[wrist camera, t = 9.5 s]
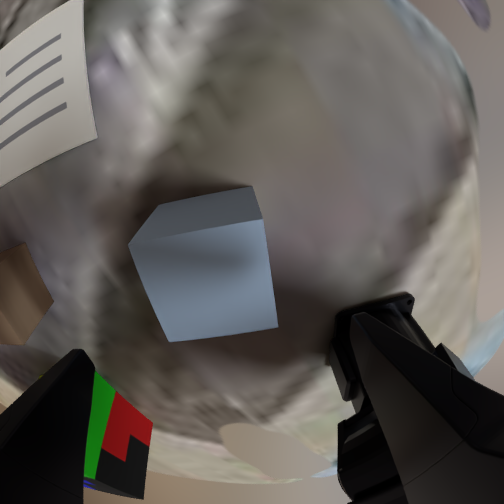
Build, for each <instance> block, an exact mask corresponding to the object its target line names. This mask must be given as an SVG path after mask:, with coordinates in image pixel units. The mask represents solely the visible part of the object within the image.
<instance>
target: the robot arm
mask: <svg viewBox="0 0 504 504" xmlns="http://www.w3.org/2000/svg"><path fill="white" fill-rule="evenodd" d="M414 301H415V299H414V297H413V296H412V295H411V294H406V295H403V296H399V297H396V298H392V299H389V300H385V301H381V302H378V303H374V304H370V305H366V306H362V307H358V308H354V309H350V310H346V311H342V312H339V313H338V314H337V315H336V317H335V331H334V338H332V340H331V342H330V358H329V362H330V365H331V367H332V370H333V373H334V376H335V379H336V381H337V384H338V387H339V390H340V393H341V396H342V399H343V400H344V401H346V402H347V401H350V400H351V401H352V404H353V407H354V409H355V412H356V414H354V415H353V416H351V417H350V418H348V419H347V420H343V421H341V422H340V423H338V464H337V473H338V480H339V483H340V485H341V487H342V489H343V490H344V492H345V493H346V494H347V495H348V497H349V498H350V499H351V500H352V502H349V503H347V504H504V396H503V395H502V394H499V393H497V392H495V391H493V390H491V389H489V388H487V387H485V386H483V385H481V384H480V383H478V382H476V381H475V380H474V378H473V377H472V375H471V374H470V372H469V371H468V369H467V368H466V367H465V365H464V364H463V363H462V361H461V360H460V359H459V358H458V357H457V356H456V355H455V354H454V353H453V352H451V351H450V350H449V349H448V348H447V347H446V346H445V345H443V344H442V343H440V344H439V345H438V346H437V347H436V348H435V347H434V345H433V344H432V343H431V341H430V340H429V338H428V337H427V336H426V334H425V333H424V331H423V330H422V329H421V327H420V326H419V325H418V323H417V322H416V321H415V319H414V318H413V317H412V315H411V313H412V309H413V305H414ZM342 318H344V319H342ZM94 377H95V366H94V364H93V362H92V361H91V360H90V358H89V357H88V355H87V354H86V353H85V351H84V350H82V349H73V350H71V351H70V352H69V353H68V354H67V355H66V356H64V357H63V358H62V359H61V360H60V361H59V362H57V363H56V364H55V365H54V366H53V367H52V368H51V369H50V370H48V371H47V372H46V373H45V374H44V375H43V376H42V377H41V378H39V379H38V380H37V381H36V382H35V383H34V384H33V385H32V386H31V387H29V388H28V389H27V390H26V391H25V392H24V393H23V394H22V395H21V396H20V397H19V398H18V399H16V400H15V401H14V402H13V404H11V405H10V406H9V407H8V408H7V409H6V410H5V411H4V412H3V413H2V414H0V504H83V488H84V468H85V455H86V445H87V436H88V429H89V421H90V415H91V408H92V398H93V387H94Z"/></svg>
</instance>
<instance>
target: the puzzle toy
mask: <svg viewBox="0 0 504 504" xmlns="http://www.w3.org/2000/svg"><path fill="white" fill-rule="evenodd" d="M42 376H43V375H40V376H39V378H41V377H42ZM39 378H38V379H39ZM152 426H153V423H152V422H151V421H150V420H149V419H147V418H146V417H145V416H144V415H143V414H141V413H140V412H139V411H138V410H137V409H135V408H134V407H133V406H132V405H131V404H130V403H129V402H127V401H126V400H125V399H124V398H123V397H122V396H121V395H120V394H119V393H118V392H116V391H115V390H114V389H113V388H112V387H111V386H110V385H109V384H108V383H107V382H106V381H105V380H104V379H103V378H102V377H101V376H100V375H99V374H98V373H97V372H96V371H95V377H94V387H93V398H92V408H91V415H90V421H89V429H88V436H87V445H86V455H85V468H84V487H87V488H91V489H94V490H98V491H102V492H107V493H111V494H115V495H120V496H125V497H130V498H136V499H144V489H145V479H146V470H147V462H148V454H149V446H150V439H151V432H152Z"/></svg>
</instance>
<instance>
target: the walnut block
mask: <svg viewBox="0 0 504 504" xmlns="http://www.w3.org/2000/svg"><path fill="white" fill-rule="evenodd" d="M53 302H54V301H53V299H52V297H51V295H50V293H49V291H48V290H47V288H46V286H45V284H44V282H43V280H42V278H41V276H40V274H39V272H38V270H37V268H36V266H35V263H34V261H33V259H32V257H31V254H30V252H29V250H28V248H27V245H26V243H23V244H20V245H18V246H15V247H13V248H10V249H8V250H5V251H3V252H1V253H0V344H7V345H25V343H26V341H27V340H28V338H29V337H30V335H31V334H32V332H33V331H34V329H35V328H36V326H37V325H38V323H39V322H40V320H41V319H42V317H43V316H44V315H45V313H46V312H47V310H48V309H49V308H50V306H51V305H52V303H53Z"/></svg>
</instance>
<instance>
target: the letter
mask: <svg viewBox="0 0 504 504" xmlns="http://www.w3.org/2000/svg"><path fill="white" fill-rule="evenodd" d="M83 5H84V0H70V1H68V2H66V3H65V4H63V5H61V6H60V7H58V8H56V9H55V10H53V11H52V12H50V13H48V14H47V15H45V16H44V17H42V18H41V19H40V20H38V21H37V22H35V23H34V24H32V25H31V26H30V27H28V28H27V29H26V30H24V31H23V32H22V33H20V34H19V35H18V36H17V37H15V38H14V39H13V40H12V41H11V42H9V43H8V44H7V45H6V46H5V47H4V48H2V49H1V50H0V187H2V186H3V185H5V184H7V183H8V182H10V181H12V180H13V179H15V178H17V177H18V176H20V175H22V174H23V173H25V172H27V171H29V170H31V169H32V168H34V167H36V166H38V165H40V164H42V163H44V162H46V161H48V160H50V159H52V158H54V157H56V156H58V155H60V154H62V153H64V152H66V151H68V150H70V149H73V148H75V147H77V146H80V145H82V144H84V143H87V142H89V141H91V140H94V139H96V138H98V136H97V132H96V127H95V121H94V116H93V110H92V104H91V98H90V91H89V84H88V76H87V67H86V57H85V43H84V16H83Z"/></svg>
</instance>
